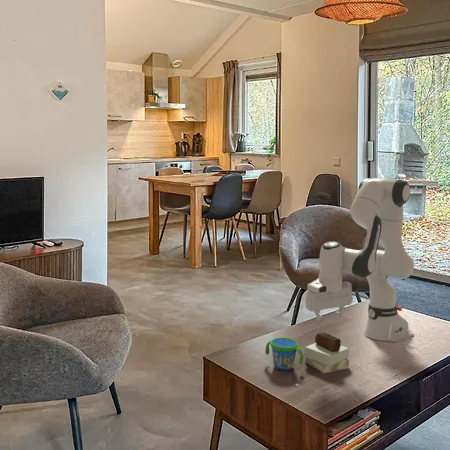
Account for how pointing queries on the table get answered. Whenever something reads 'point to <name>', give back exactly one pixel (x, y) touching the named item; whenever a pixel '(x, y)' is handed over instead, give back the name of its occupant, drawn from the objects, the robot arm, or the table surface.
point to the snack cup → (284, 352)
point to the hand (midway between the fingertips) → (329, 318)
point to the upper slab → (326, 354)
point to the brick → (328, 342)
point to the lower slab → (326, 368)
